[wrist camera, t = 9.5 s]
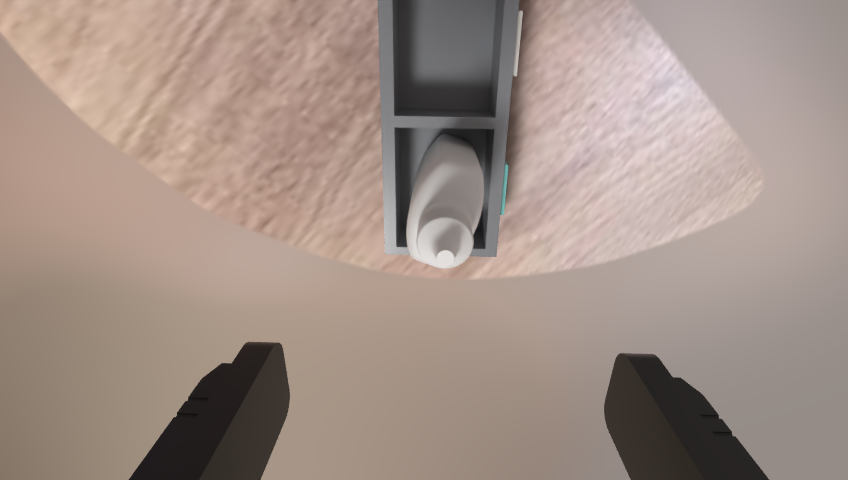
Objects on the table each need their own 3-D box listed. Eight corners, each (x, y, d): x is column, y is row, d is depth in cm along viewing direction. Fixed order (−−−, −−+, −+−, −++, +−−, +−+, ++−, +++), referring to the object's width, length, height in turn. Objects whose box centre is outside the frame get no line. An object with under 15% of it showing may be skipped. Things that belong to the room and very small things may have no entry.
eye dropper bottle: (388, 181, 27) (354, 263, 16) (453, 121, 26) (464, 169, 15) (433, 227, 29) (429, 332, 18) (497, 173, 27) (538, 252, 16)
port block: (388, -33, 24) (376, -55, 19) (513, -32, 24) (530, -54, 19) (393, 224, 30) (385, 254, 26) (491, 226, 30) (501, 257, 25)
